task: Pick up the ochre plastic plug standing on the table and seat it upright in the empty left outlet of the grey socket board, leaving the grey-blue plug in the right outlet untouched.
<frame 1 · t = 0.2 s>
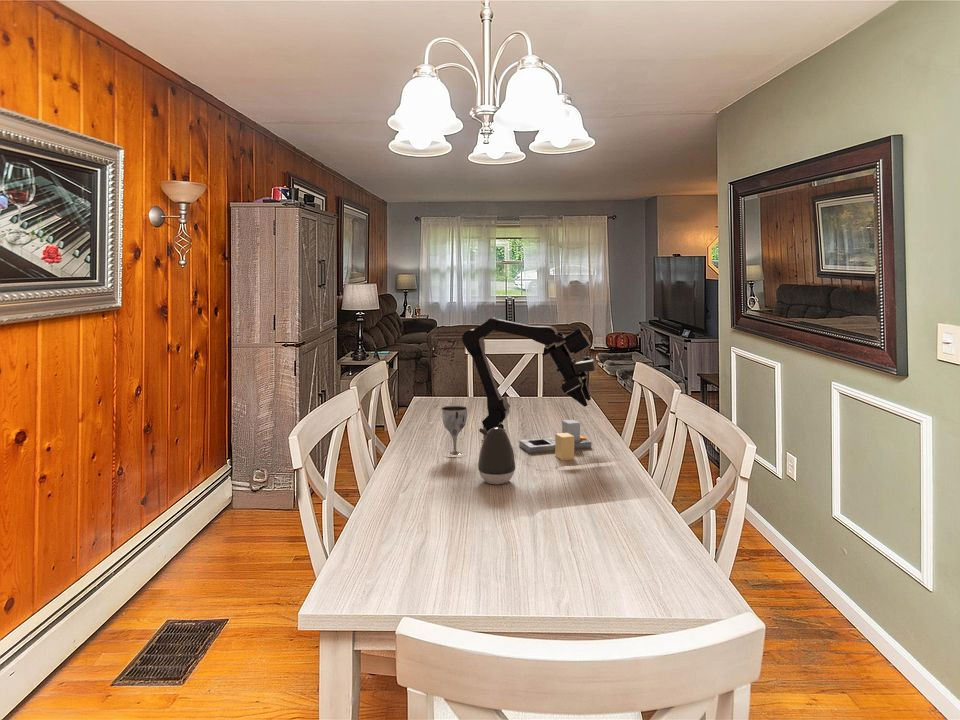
hand: (588, 402, 214), 15 cm above the table, tool tilted 30°, fingers open, 9 cm apart
wine glass: (454, 455, 210), on the table
grey socket board: (555, 450, 214), on the table
ochre plug: (564, 460, 202), on the table
grey-blue plug: (570, 445, 216), point 1 cm above the table, touching grey socket board
dark grey egg shape: (496, 482, 183), on the table
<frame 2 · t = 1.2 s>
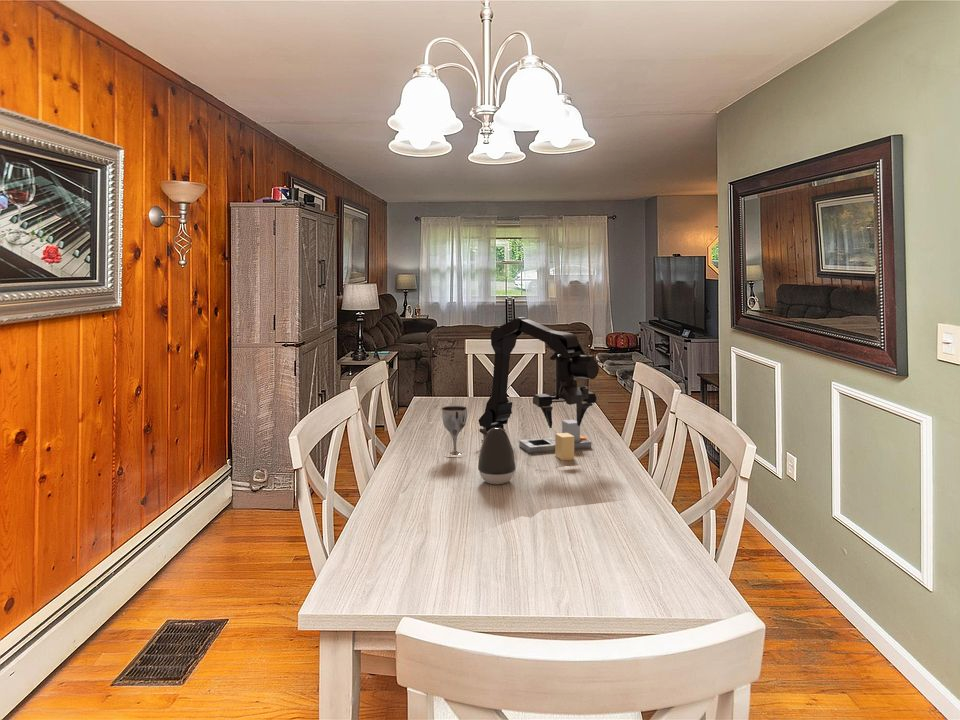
hand: (564, 426, 201), 10 cm above the table, tool pointing down, fingers open, 9 cm apart
nothing on the table moved.
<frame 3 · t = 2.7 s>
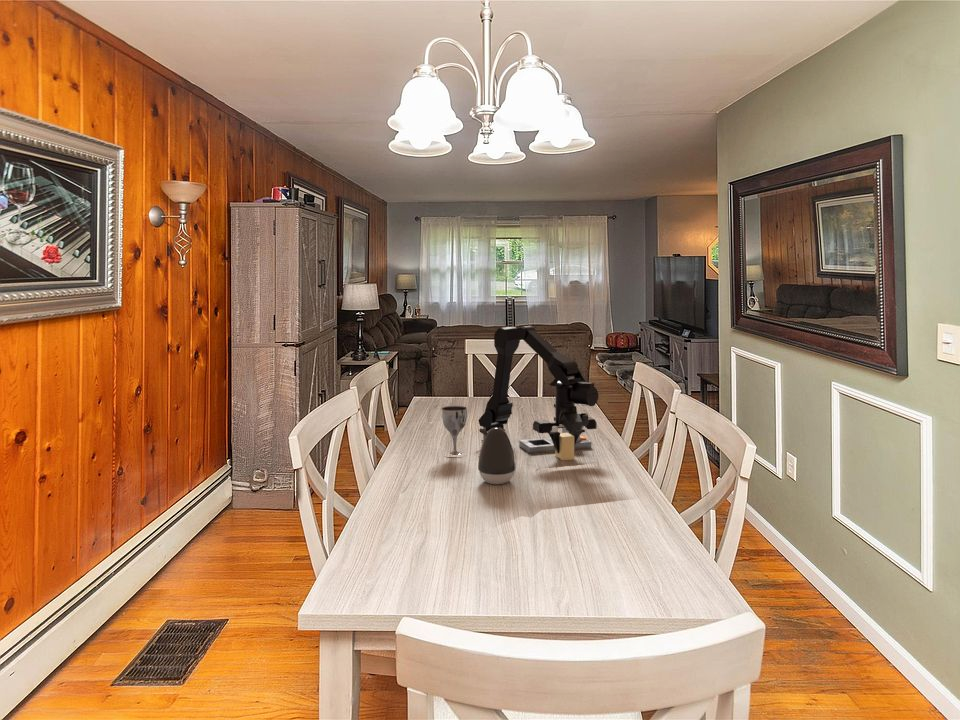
hand: (564, 452, 202), 3 cm above the table, tool pointing down, fingers closed on ochre plug, 4 cm apart
ochre plug: (564, 460, 202), on the table, touching gripper
everything else where it was.
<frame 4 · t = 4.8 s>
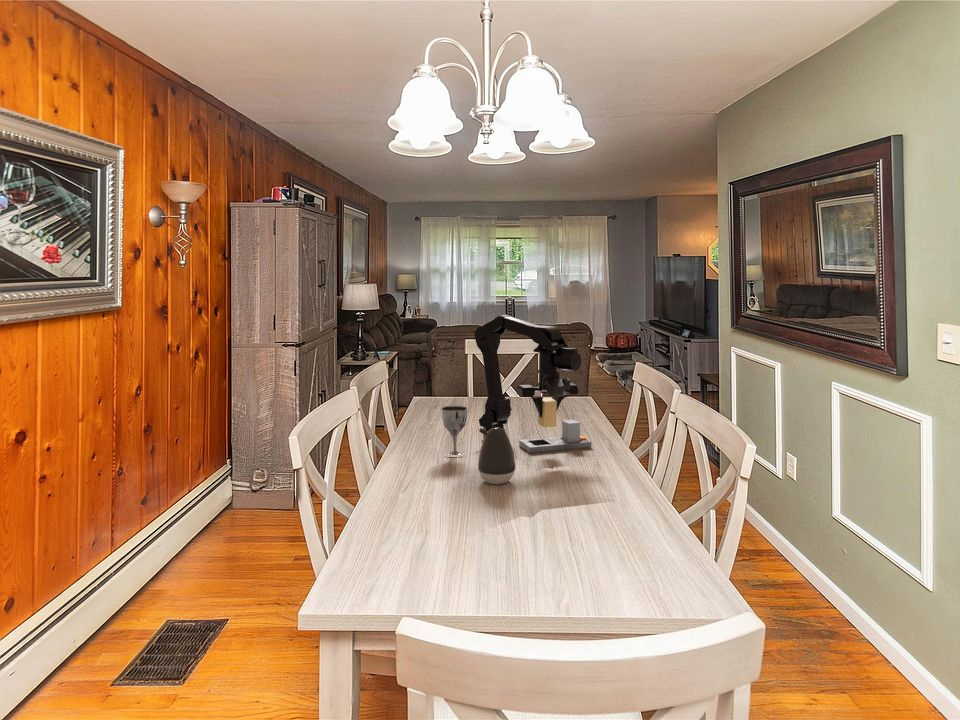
hand: (547, 416, 208), 12 cm above the table, tool pointing down, fingers closed on ochre plug, 4 cm apart
ochre plug: (547, 424, 208), point 10 cm above the table, touching gripper
everything else where it was.
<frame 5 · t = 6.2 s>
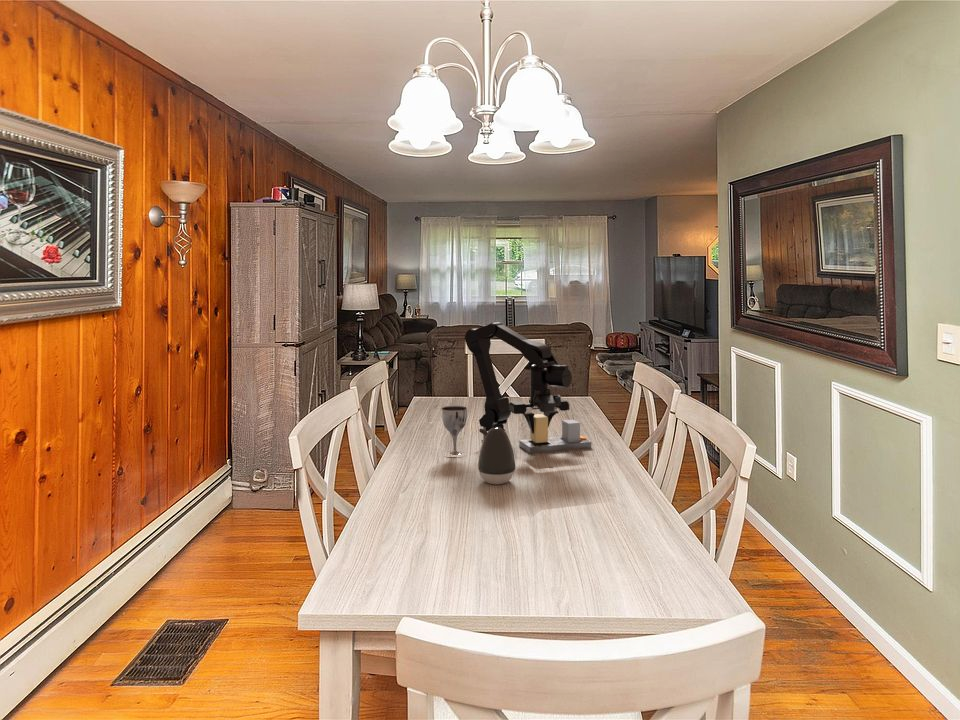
hand: (539, 432, 212), 6 cm above the table, tool pointing down, fingers closed on ochre plug, 4 cm apart
ochre plug: (539, 440, 212), point 4 cm above the table, touching gripper
everything else where it was.
when the fingers open (4 cm above the table, at t = 7.1 s): ochre plug stays where it is, resting on grey socket board.
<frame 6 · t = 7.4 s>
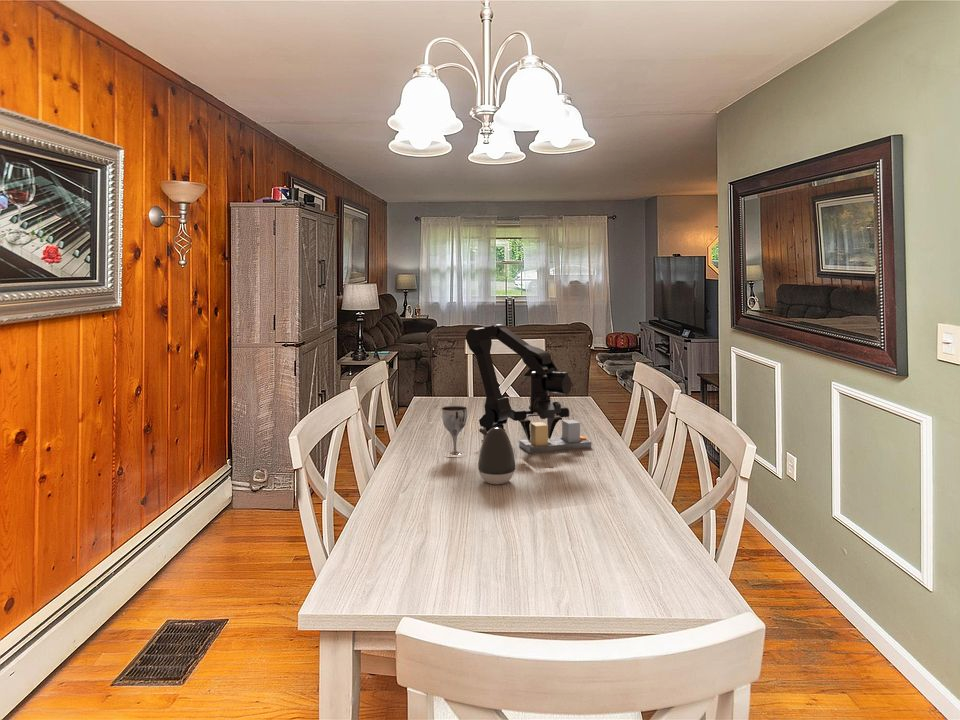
hand: (539, 439, 212), 4 cm above the table, tool pointing down, fingers open, 7 cm apart
ochre plug: (539, 448, 213), point 1 cm above the table, touching grey socket board
everything else where it was.
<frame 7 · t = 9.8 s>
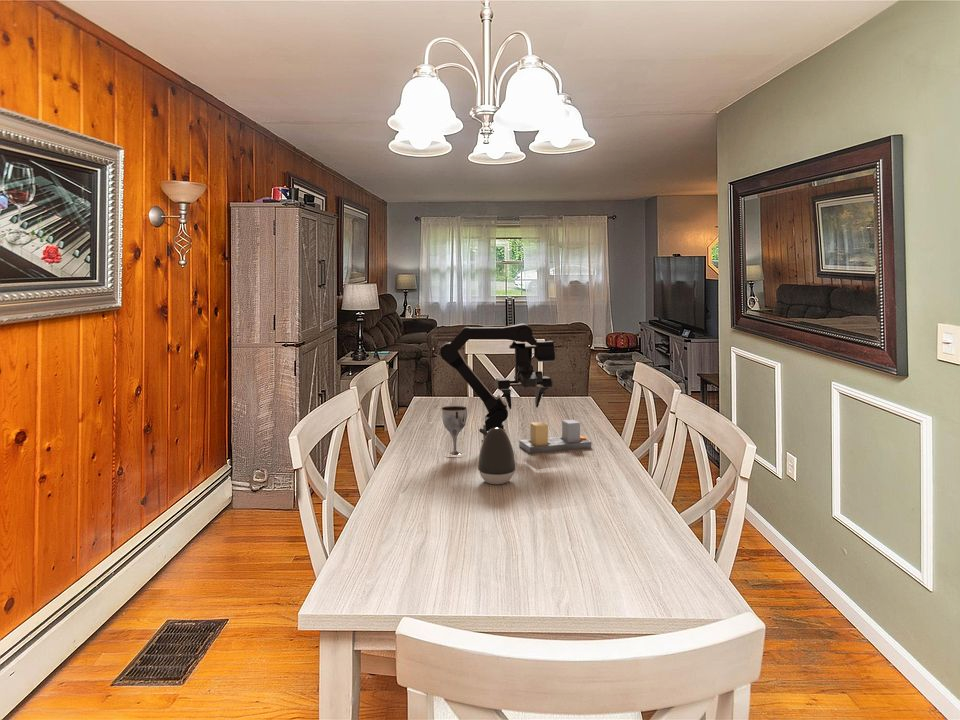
hand: (523, 408, 222), 12 cm above the table, tool pointing down, fingers open, 9 cm apart
nothing on the table moved.
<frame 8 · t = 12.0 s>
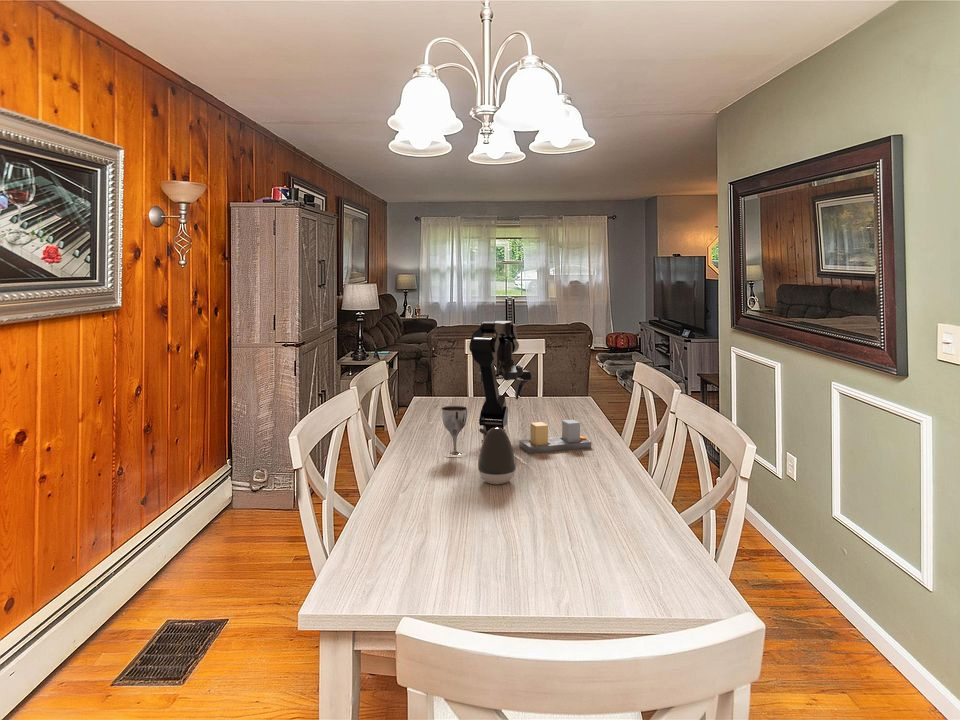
hand: (504, 400, 236), 12 cm above the table, tool pointing down, fingers open, 9 cm apart
nothing on the table moved.
at the end: ochre plug 0.0 cm from the target spot on the grey socket board, point 1.0 cm above the grey socket board's base; ochre plug tilted 0°; grey-blue plug moved 0.0 cm from its start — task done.
